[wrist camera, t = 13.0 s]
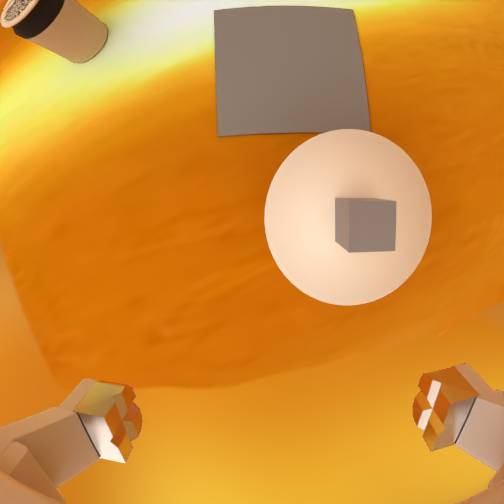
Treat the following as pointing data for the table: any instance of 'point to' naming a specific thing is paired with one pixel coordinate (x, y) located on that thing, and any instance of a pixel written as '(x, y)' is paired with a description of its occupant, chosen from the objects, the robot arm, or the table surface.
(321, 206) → the lid
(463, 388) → the robot arm
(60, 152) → the table surface
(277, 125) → the mat
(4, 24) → the travel mug
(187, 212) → the table surface
